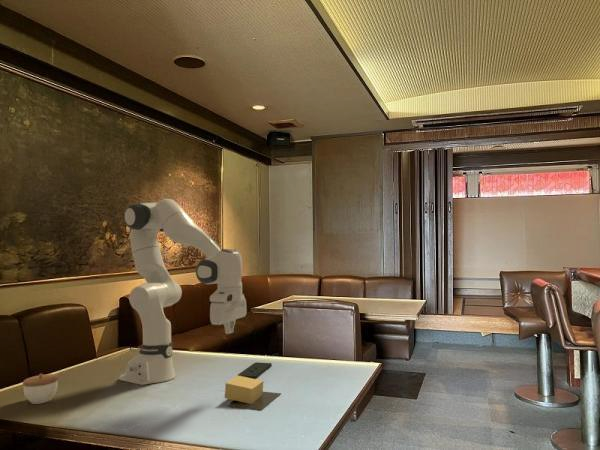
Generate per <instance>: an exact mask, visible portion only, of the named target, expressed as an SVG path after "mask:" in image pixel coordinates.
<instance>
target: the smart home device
mask: <svg viewBox="0 0 600 450" xmlns="http://www.w3.org/2000/svg"><path fill="white" fill-rule="evenodd" d="M272 366H273V365H272V363H271V362H260V361H259V362H253V363H251V364H250V365H249V366H248V367H246V368H245V369H243V370H242V371H241V372H239V373H238V374H237V376H242V377H247V378H252V379H258V378H259V377H261V375H263V374H264V373H265V372H266V371H268V370H269V369H271V368H272Z"/></svg>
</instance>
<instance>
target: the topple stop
mask: <svg viewBox="0 0 600 450" xmlns="http://www.w3.org/2000/svg"><path fill="white" fill-rule="evenodd" d="M281 395H282V393H280V392H279V393H278V392H273V391H272V392H270V391H263V394H262V396H261V397H259V398H258V399H257V400H256V401H254V402H253V403H252V404H249V403H244V402H240V401H236V400H231V399H228V401H226V406H228V407H231V408H236V409H245V410H246V409H247V410H252V411H253V410H255V411H263V410H264V409H265V408H266V407H268V406H269V405H270V404H271V403H273V402H274V401H275V400H276V399H277V398H278V397H279V396H281Z"/></svg>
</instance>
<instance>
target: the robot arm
mask: <svg viewBox="0 0 600 450" xmlns="http://www.w3.org/2000/svg"><path fill="white" fill-rule="evenodd" d="M123 220H124V222H125V225H126V226H127V227H128V228H129V229H131V230H130V233H129V235H130V236H129V239H130V242H129V243H130V249H131V253H132V257H133V263H134V266H135V270H136V272H137V274H139V275H141V276H142V277H143V278H144V280H145V282H146V283H145V282H144V283H142V284H140V285H139V284H138V286H135V287H134V288H132V289H131V291H130V292H129V298H128V301H129V304H130V306H131V308H132V309H134V310H135V311H136V312H137V314H138V315H139V316H138V317H139V319H140V321H141V325H142V344H140V345H138V346H137V345H136V346H137V348H136V349H137V350H138V349H139V352H138V354H137V355H135V356H134V357H133V358H132V359H130V360H129V361H128V362H127V364H126V366H125V372H124V373H123V374H121V375H120V376H119V379H118V380H119V381H123V382H127V383H132V384H136V385H141V386H143V385H148V384H156V383H157V384H158V383H162V382H166V381H167V382H168V381H171V380H172V379H174V378H176V376H177V375H176V372H175V369H174V361H173V341H172V324H171V321H170V320H169V319H168V318H167V317H166V315H165V313H164V308H166V307H171V306H173V305H174V304H176V303H178V302H179V301H180V299H181V298H182V293H183V291H182V287H181V285H179V283H178V282H176V281H175V280H174V279H173V278H172V276H171V274H170V273H169V271H168V269H167V268H166V265H165V263H164V258H163V255H162V251H161V247H160V244H159V241H158V233H159V232H161V233H163V232H164V233H165V235H166V236H167V237H168V238H169V239H171V241H173V242H175V244H180V245H183V246H184V245H185V246H189V247H193V248H195V249H197V250H199V251H201V252H202V254H204V255H205V258H203V259H201V260H199V261H198V263H196V267H195V275H196V279H197V280H198V281H199V282H200V283H202V284H205V285H214V284H215V285H217V289H216V290H215V291H214V292H213V293H212V294H211V295H210V296H209V301H210V302H211V303H210V306H209V307H210V308H209V319H210V320H209V321H210V323H211V325H214V326H215V325H216V326H217V325H218V326H221V325H223V326H224V327H223V328H224V333H225V335H230V334H232V333H234V328H235V325H236V320H238V319H241V318H244V317H246V315H247V311H248V309H247V299H246V298H245V294H244V293H243V282H242V277H243V259H242V254H241V253H240V251H239V250H235V249H229V248H221V247H220V246H219V244H218V243H216V241H215V240H214V239H213V238H212V237H211V236H210V235H209V234H208V233H206V232H205V231H204V230H203V229H202V228H201V227H200V226H199V225H197V224H196V222H195V221H193V219H192V218H191V217H190V216H189V215H188V213H187V212H186V211H185V210H184V209H183V208H182V206H181V205H179V204H178V203H177V202H176V201H175V200H174V199H172V198H164V199H161V200H159V201H158V202H156V201H155V202H154V201H153V202H151V201H150V202H142V203H138V202H137V203H131V204H129V205H127V207H126V208H125V210H124V213H123Z"/></svg>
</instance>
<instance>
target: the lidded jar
mask: <svg viewBox="0 0 600 450" xmlns="http://www.w3.org/2000/svg"><path fill="white" fill-rule="evenodd" d="M22 385H23V394H24V397H25V399H26V400H27V401H28V402H30V404H32V405H39V404H43V403H47V402H50V401H51V400H52V398H53V397H54V396H55V394H56V393H57V391H58V385H59V375H57V374H54V373H53V374H49V373H47V374H43V373H39V374H38V375H34V376H30V377H28V378H25V379H24V380H23V381H22Z"/></svg>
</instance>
